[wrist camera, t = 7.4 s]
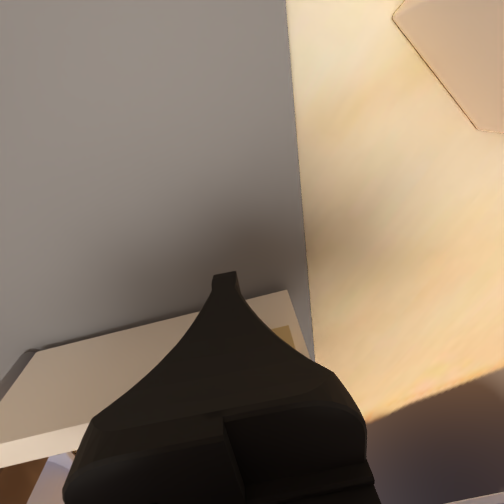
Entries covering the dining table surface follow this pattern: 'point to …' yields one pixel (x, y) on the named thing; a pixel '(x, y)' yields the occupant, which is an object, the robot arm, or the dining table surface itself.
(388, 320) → the dining table surface
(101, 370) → the gate leaf
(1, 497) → the gate posts
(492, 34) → the milk
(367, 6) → the dining table surface
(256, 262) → the base
